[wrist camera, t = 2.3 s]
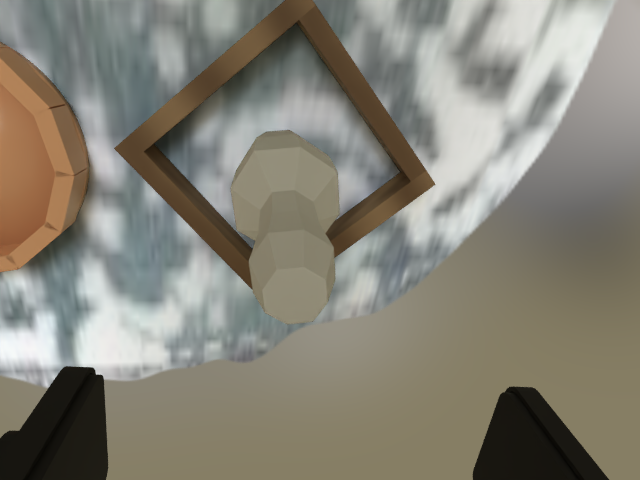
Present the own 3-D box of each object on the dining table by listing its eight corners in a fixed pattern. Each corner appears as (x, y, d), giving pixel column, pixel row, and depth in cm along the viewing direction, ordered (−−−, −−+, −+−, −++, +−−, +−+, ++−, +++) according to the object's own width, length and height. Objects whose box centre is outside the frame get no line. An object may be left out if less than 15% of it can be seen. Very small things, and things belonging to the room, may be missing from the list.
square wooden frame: (299, -9, 31) (302, -15, 28) (423, 174, 37) (435, 184, 34) (127, 140, 34) (113, 148, 31) (268, 288, 40) (268, 305, 37)
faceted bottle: (235, 186, 36) (186, 356, 16) (251, 108, 34) (219, 188, 13) (310, 204, 37) (355, 382, 17) (330, 129, 35) (411, 232, 15)
